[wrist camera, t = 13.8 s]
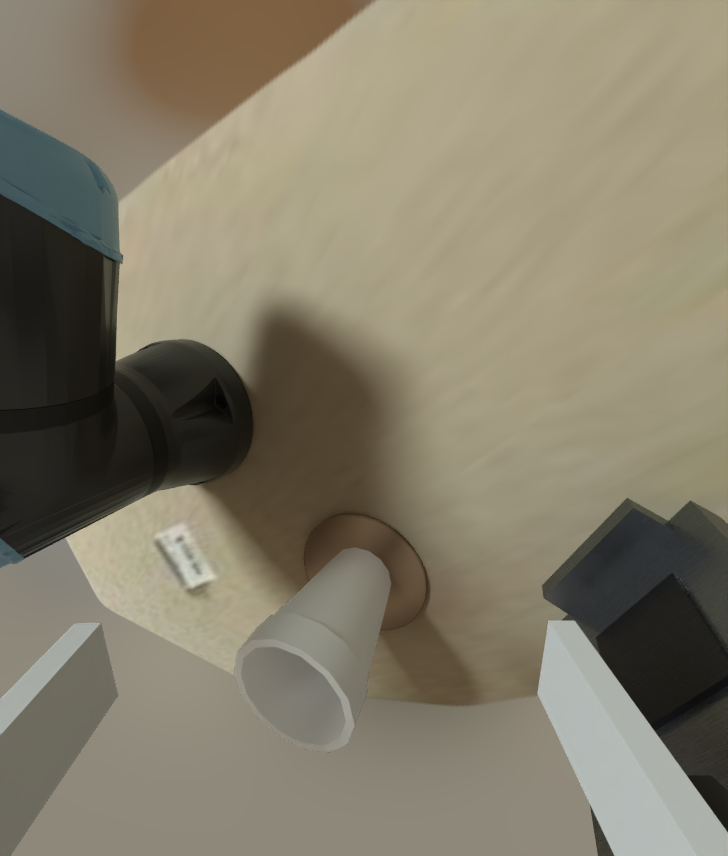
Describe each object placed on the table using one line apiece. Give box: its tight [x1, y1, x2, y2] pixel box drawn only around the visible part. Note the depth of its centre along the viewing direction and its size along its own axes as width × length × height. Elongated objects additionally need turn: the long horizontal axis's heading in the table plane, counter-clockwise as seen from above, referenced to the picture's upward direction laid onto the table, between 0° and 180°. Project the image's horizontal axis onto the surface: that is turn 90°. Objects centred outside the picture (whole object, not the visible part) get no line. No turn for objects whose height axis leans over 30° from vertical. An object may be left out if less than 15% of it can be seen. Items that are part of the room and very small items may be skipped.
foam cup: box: [234, 547, 391, 753], centre depth 31 cm, size 10×9×13 cm
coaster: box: [304, 514, 427, 631], centre depth 37 cm, size 13×13×1 cm
